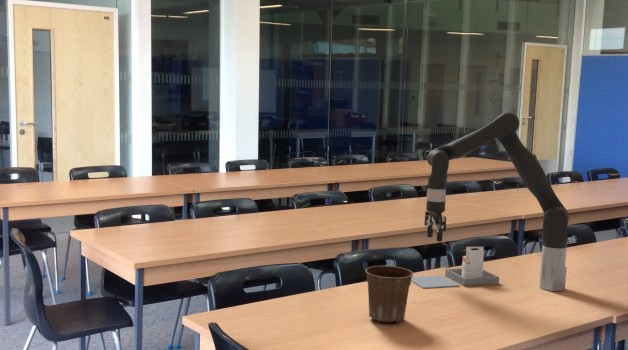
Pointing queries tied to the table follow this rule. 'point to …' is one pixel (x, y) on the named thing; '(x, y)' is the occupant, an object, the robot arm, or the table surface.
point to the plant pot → (388, 292)
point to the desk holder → (484, 280)
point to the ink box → (473, 263)
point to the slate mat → (433, 281)
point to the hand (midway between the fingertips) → (434, 239)
